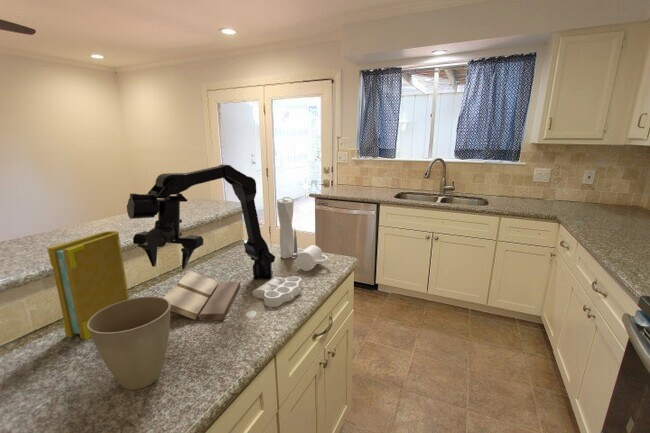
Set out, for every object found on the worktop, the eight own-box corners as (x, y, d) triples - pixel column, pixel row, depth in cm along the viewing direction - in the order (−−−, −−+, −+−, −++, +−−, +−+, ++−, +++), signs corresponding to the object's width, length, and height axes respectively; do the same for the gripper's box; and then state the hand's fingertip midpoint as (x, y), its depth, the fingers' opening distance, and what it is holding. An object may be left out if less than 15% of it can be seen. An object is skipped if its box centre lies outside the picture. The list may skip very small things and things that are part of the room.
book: (86, 339, 83) (69, 249, 78) (65, 336, 85) (47, 248, 79) (136, 307, 99) (124, 231, 94) (118, 305, 101) (105, 230, 95)
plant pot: (188, 354, 77) (181, 295, 73) (159, 403, 63) (148, 332, 59) (126, 356, 77) (116, 296, 73) (82, 405, 62) (67, 334, 58)
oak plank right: (216, 286, 113) (218, 281, 113) (208, 300, 104) (210, 294, 103) (187, 275, 112) (189, 270, 112) (175, 287, 102) (177, 282, 102)
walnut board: (240, 286, 114) (240, 281, 113) (224, 319, 92) (223, 313, 92) (219, 287, 114) (218, 281, 113) (197, 320, 92) (197, 314, 92)
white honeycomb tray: (277, 280, 120) (311, 288, 113) (246, 301, 104) (283, 311, 98) (277, 272, 119) (311, 279, 113) (245, 292, 103) (283, 301, 97)
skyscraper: (295, 259, 140) (294, 197, 134) (277, 259, 141) (275, 197, 134) (297, 253, 149) (296, 194, 142) (280, 252, 149) (278, 194, 143)
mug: (296, 269, 129) (295, 251, 127) (306, 261, 138) (305, 244, 136) (323, 273, 125) (323, 254, 123) (331, 264, 134) (331, 247, 132)
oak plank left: (206, 303, 102) (208, 297, 101) (195, 319, 92) (197, 314, 92) (173, 290, 100) (175, 285, 100) (158, 306, 91) (160, 300, 90)
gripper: (119, 218, 85) (120, 273, 87) (186, 223, 85) (186, 279, 87) (144, 212, 96) (144, 262, 98) (204, 217, 96) (203, 267, 98)
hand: (168, 267), depth 95 cm, fingers open, 9 cm apart
